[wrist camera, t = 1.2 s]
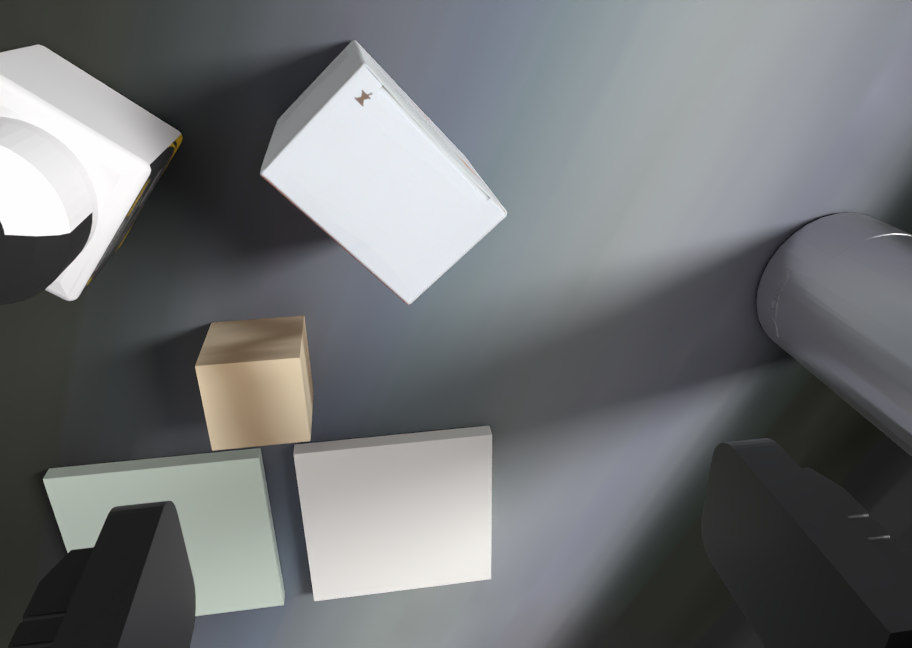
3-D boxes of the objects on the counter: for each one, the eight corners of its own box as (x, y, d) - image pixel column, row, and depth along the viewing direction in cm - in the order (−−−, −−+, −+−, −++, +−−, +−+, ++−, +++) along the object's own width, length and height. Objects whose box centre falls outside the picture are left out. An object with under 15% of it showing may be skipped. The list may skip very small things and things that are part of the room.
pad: (489, 425, 44) (492, 434, 43) (488, 568, 50) (490, 579, 49) (294, 444, 43) (293, 454, 42) (314, 589, 48) (314, 601, 47)
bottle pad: (260, 447, 42) (258, 457, 42) (284, 593, 48) (283, 604, 47) (48, 468, 41) (42, 479, 40) (98, 616, 46) (93, 629, 45)
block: (304, 314, 39) (299, 357, 35) (313, 391, 42) (310, 441, 37) (211, 321, 39) (195, 366, 34) (226, 399, 41) (212, 450, 36)
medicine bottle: (118, 249, 36) (26, 362, 25) (-27, 170, 34) (-198, 259, 23) (187, 133, 34) (118, 203, 24) (38, 40, 32) (-115, 70, 21)
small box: (275, 119, 35) (251, 171, 25) (355, 35, 33) (361, 56, 24) (390, 229, 38) (408, 311, 28) (467, 156, 37) (511, 216, 27)
